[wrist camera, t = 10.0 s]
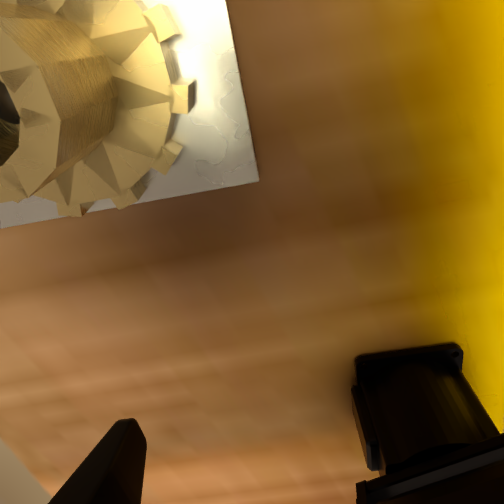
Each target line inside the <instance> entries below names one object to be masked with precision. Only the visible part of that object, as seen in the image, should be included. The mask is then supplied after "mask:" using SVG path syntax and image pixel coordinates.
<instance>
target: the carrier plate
mask: <svg viewBox="0 0 504 504" xmlns="http://www.w3.org/2000/svg"><path fill="white" fill-rule="evenodd" d="M142 2H143V3H144V4H145V5H146V6H147V8H148V9H150V8H152V7H154V6H155V5H157V4H158V3H160V4H163V5H166V6H168V8H169V10H170V12H171V14H172V16H173V18H174V20H175V22H176V24H177V26H178V28H179V30H180V32H181V35H179V36H177V37H176V38H174V39H172V40H170V41H169V42H168V45H169V49H170V53H171V57H172V61H173V65H174V68H175V72H176V76H177V80H180V81H193V108H192V110H191V111H190V112H189V113H188V114H180V113H176V117H175V121H174V125H173V130H172V134H171V139H172V140H174V141H175V142H177V143H178V144H180V145H182V146H183V147H182V149H181V151H180V153H179V154H178V156H177V158H176V159H175V161H174V163H173V164H172V166H171V168H170V169H169V171H168V172H167V174H166V176H165V175H163V174H162V173H160V172H158V171H157V170H155V169H154V168H151V169H150V170H149V171H148V172H146V173H145V174H144V175H143V176H142V177H141V178H140V179H141V181H142V182H143V184H144V186H145V187H146V190H145V192H144V193H143V195H142V196H141V197H140V199H139V200H138V201H137V202H135V203H133V204H138V203H143V202H149V201H154V200H160V199H165V198H171V197H176V196H182V195H187V194H193V193H198V192H204V191H209V190H215V189H220V188H225V187H231V186H236V185H242V184H247V183H253V182H258V181H259V171H258V166H257V160H256V155H255V150H254V144H253V139H252V134H251V128H250V123H249V118H248V112H247V107H246V102H245V96H244V91H243V85H242V80H241V75H240V69H239V64H238V59H237V53H236V48H235V43H234V37H233V32H232V27H231V21H230V16H229V11H228V5H227V0H142ZM0 118H1V119H2V120H4V121H6V122H9V123H12V124H20V116H19V114H18V112H17V110H16V107H15V105H14V103H13V101H12V99H11V97H10V94H9V92H8V90H7V88H6V86H5V84H4V83H3V82H2V81H1V80H0ZM131 205H132V204H131ZM110 208H116V206H115V204H114V203H113V201H112V200H111V199H110V198H108V199H102V200H97V201H94V205H93V206H92V207H91V208H90V209H89V210H88V211H87V212H86V213H88V212H94V211H99V210H105V209H110ZM61 217H66V216H59V215H58V210H57V205H56V202H54V201H51V200H48V199H44V198H41V197H38V196H34V195H32V196H30V197H29V198H25V199H23V200H22V201H20V202H19V203H16V202H14V201H9V202H4V203H0V228H6V227H11V226H17V225H22V224H28V223H33V222H39V221H44V220H50V219H55V218H61Z"/></svg>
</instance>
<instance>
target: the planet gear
mask: <svg viewBox="0 0 504 504" xmlns="http://www.w3.org/2000/svg"><path fill="white" fill-rule="evenodd" d="M179 35H181V32H180V30H179V28H178V26H177V24H176V22H175V20H174V18H173V16H172V14H171V12H170V10H169V8H168V6H166V5H163V4H160V3H158V4H157V5H155V6H154V7H152V8H150V9H148V8H147V6H146V5H145V4H144V3H143V2H142V0H0V80H1V81H2V82H3V83H4V84H5V86H6V88H7V90H8V92H9V94H10V97H11V99H12V101H13V103H14V105H15V107H16V110H17V112H18V114H19V116H20V124H12V123H9V122H6V121H4V120H2V119H1V118H0V203H4V202H9V201H14V202H16V203H19V202H20V201H22V200H23V199H25V198H29V197H30V196H32V195H34V196H38V197H41V198H44V199H48V200H51V201H54V202H56V205H57V210H58V215H59V216H74V217H82V216H83V215H84V214H85V213H86V212H87V211H88V210H89V209H90V208H91V207H92V206H93V205H94V201H97V200H102V199H108V198H110V199H111V200H112V201H113V203H114V204H115V206H116V207H117V209H118V210H120V209H123V208H125V207H127V206H129V205H131V204H133V203H135V202H137V201H138V200H139V199H140V197H141V196H142V195H143V193H144V192H145V190H146V187H145V186H144V184H143V182H142V181H141V179H140V178H141V177H142V176H143V175H144V174H145V173H146V172H148V171H149V170H150V169H151V168H154V169H155V170H157V171H158V172H160V173H162V174H163V175H165V176H166V174H167V172H168V171H169V169H170V168H171V166H172V164H173V163H174V161H175V159H176V158H177V156H178V154H179V153H180V151H181V149H182V147H183V146H182V145H180V144H178V143H177V142H175V141H174V140H172V139H171V134H172V130H173V125H174V121H175V117H176V113H180V114H188V113H189V112H190V111H191V110H192V108H193V81H180V80H177V76H176V72H175V68H174V65H173V61H172V57H171V53H170V49H169V45H168V42H169V41H170V40H172V39H174V38H176V37H177V36H179Z"/></svg>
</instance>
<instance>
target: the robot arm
mask: <svg viewBox="0 0 504 504" xmlns="http://www.w3.org/2000/svg"><path fill="white" fill-rule="evenodd" d="M462 363H463V350H462V349H461V347H460V346H459V345H457V344H448V345H441V346H433V347H426V348H418V349H411V350H404V351H396V352H389V353H382V354H374V355H367V356H361V357H358V358H357V359H356V360H355V375H356V385H353V386H352V388H351V397H352V408H353V415H354V419H355V422H356V426H357V430H358V434H359V438H360V441H361V445H362V449H363V453H364V456H365V460H366V464H367V468H369V469H370V470H371V471H379V474H380V477H378V478H375V479H372V480H370V481H366V480H364V481H361V482H358V483H356V492H357V499H356V504H504V433H502V434H500V433H499V431H498V430H497V428H496V426H495V425H494V423H493V422H492V420H491V418H490V417H489V415H488V413H487V412H486V410H485V409H484V407H483V405H482V404H481V402H480V401H479V399H478V397H477V396H476V394H475V392H474V391H473V389H472V388H471V386H470V384H469V383H468V381H467V380H466V378H465V376H464V375H463V373H462ZM362 364H364V365H362ZM146 450H147V443H146V438H145V436H144V434H143V432H142V430H141V428H140V426H139V424H138V422H137V421H136V420H135V419H134V418H129V419H121V420H118V421H117V422H116V423H115V424H114V425H113V426H112V427H111V428H110V430H109V431H108V432H107V433H106V434H105V436H104V437H103V438H102V439H101V440H100V442H99V443H98V444H97V445H96V446H95V448H94V449H93V450H92V451H91V452H90V454H89V455H88V456H87V457H86V458H85V460H84V461H83V462H82V463H81V464H80V466H79V467H78V468H77V469H76V470H75V472H74V473H73V474H72V475H71V476H70V478H69V479H68V480H67V481H66V482H65V484H64V485H63V486H62V487H61V488H60V490H59V491H58V492H57V493H56V494H55V496H54V497H53V498H52V499H51V500H50V502H49V503H48V504H141V496H142V487H143V478H144V469H145V459H146Z"/></svg>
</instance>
